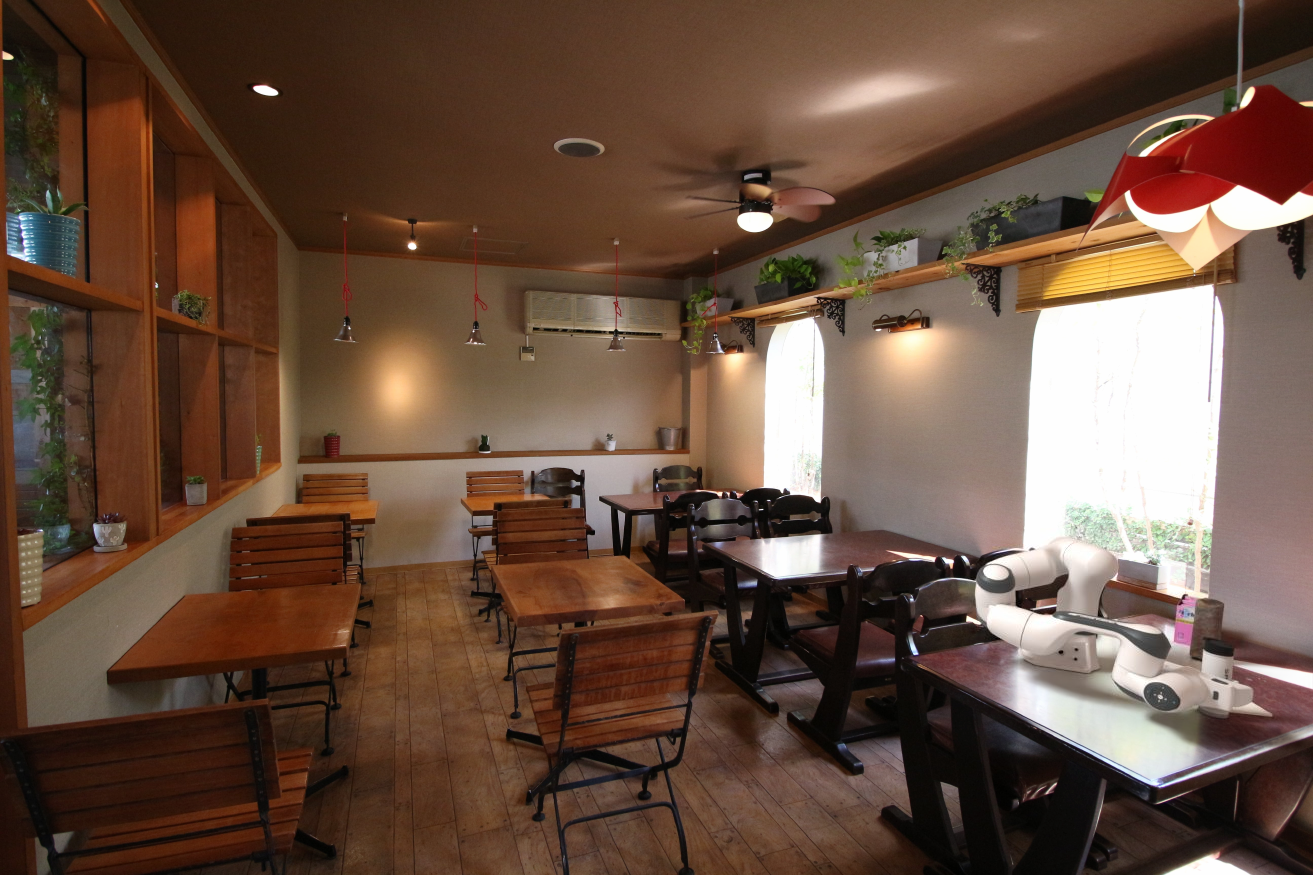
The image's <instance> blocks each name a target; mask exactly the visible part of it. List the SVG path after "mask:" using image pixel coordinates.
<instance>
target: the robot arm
mask: <svg viewBox="0 0 1313 875" xmlns="http://www.w3.org/2000/svg"><path fill="white" fill-rule="evenodd" d="M1118 571H1119V560H1118V559H1117V558H1116V556H1115V555H1114V554H1113V553H1111V551H1109V550H1107V549H1106V548H1104V547H1102V546H1100V545H1097V544H1093V543H1090V542H1087V541H1083V540H1080V539H1078V538H1076V537H1073V536H1072V537H1071V536H1058V537H1055V538H1053V539H1051V541H1049V543H1048V544H1046V545H1044V546H1041V547H1039V548H1036V549H1032V550H1026V551H1023V552H1018V553H1013V554H1009V555H1006V556H1002V557H999V558H996V559H994V560H992V561H989V562H987V563H986V564H985V565H983V566H982V567H980V568H979V570H978V571H977V573H976V578H975V580H976V583H975V588H974V589H975V590H974V598H975V605H976V606H975V614H976V618H977V620H978V621H979V623H980V624H981V625H982V626H983V627H985V628H987V629H988V630H989V632H990V633H991V634H992V635H995V636H996V637H997V638H1000V639H1001V640H1003V641H1004V642H1006V643H1009V644H1011V645H1013V646H1015V647H1017V648H1018V649H1017V653H1018V655H1019V656H1020V657H1021V658H1022V659H1023V660H1025V661H1026V662H1028V663H1030V664H1033V665H1035V666H1038V667H1039V666H1040V667H1045V668H1050V669H1051V668H1052V669H1058V670H1062V671H1064V670H1065V671H1071V672H1078V673H1084V674H1090V673H1091V672H1093V671H1097V670H1099V669H1100V663H1099V657H1098V651H1097V650H1098V649H1097V639H1098V636H1099V635H1100V636H1106V637H1110V638H1114V639H1117V640H1119V642H1120V644H1119V647H1118V651H1117V655H1116V658H1115V661H1114V664H1113V668H1112V671H1111V678H1112V681H1113V682H1114V684H1115V685H1116V687H1118V689H1119V690H1120V691H1121V692H1122V693H1123V694H1125V695H1126V696H1128V697H1130V698H1132V699H1134V700H1136V701H1140V702H1142V703H1145V704H1148V705H1149V706H1150V707H1151V708H1153V709H1154V710H1156V711H1159V712H1163V713H1179V712H1180V713H1181V712H1184V711H1186V710H1189V709H1191V708H1193V707H1195V706H1197V707H1198V706H1205V707H1211V708H1216V709H1220V710H1225V711H1231V710H1232V709H1233V707H1242V706H1245V705H1247V704H1249V703H1251V702H1253V698H1254V688H1252V687H1250V686H1249V685H1245V684H1241V683H1239V681H1238V680H1235V679H1233V678H1232V679H1231V680H1226V679H1223V678H1219V677H1216V676H1213V675H1210V674H1206V673H1203V672H1202V671H1201V670H1200V669H1199V668H1195V667H1192V666H1189V665H1186V666H1184V665H1180V664H1178V663H1173V662H1171V661H1168V660H1166V659H1167V657H1168V655H1169V653H1170V651H1171V648H1172V645H1171V642H1170V641H1169V638H1168V637H1167V636H1166V634H1165V632H1163V630H1161V629H1159V628H1157V627H1154V626H1152V625H1147V624H1141V623H1135V622H1128V621H1127V622H1126V621H1122V620H1116V619H1111V618H1106V617H1101V616H1098V613H1099V612H1098V611H1099V604H1100V598H1101V595H1102V592H1103V590H1104V588H1105V586H1106V584H1107V583H1109V581H1111V580H1113V579H1114V578H1115V577H1116V576H1117V575H1118ZM1063 575H1068V578H1067V580H1066V581H1065V582H1066V583H1065V584H1064V586H1062V587H1060V589H1059V590H1058V592H1057V599H1056V611H1055V612H1053V614H1049V613H1044V614H1040V613H1037V612H1034V611H1031V610H1028V609H1026V608H1020V607H1018V606H1017V605H1016V602H1017V601H1016V600H1017V598H1016V591H1021V590H1025V589H1031V588H1035V587H1040V586H1041V587H1042V586H1046V585H1051V584H1052V583H1054V582H1055V580H1056V578H1058V577H1061V576H1063Z"/></svg>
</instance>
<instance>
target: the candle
mask: <svg viewBox="0 0 1313 875" xmlns="http://www.w3.org/2000/svg"><path fill="white" fill-rule="evenodd" d="M1199 598H1200V599H1198V600H1196V606H1195V614H1194V622H1193V630H1192V638H1191V645H1190V646H1189V647H1190V648H1189V653H1188V654H1189V656H1190V657H1191V658H1194V659H1197V660H1199V661H1202V659H1203V652H1204V651H1203V649H1204V643H1205V640H1204V641H1203V637H1208V638H1214V639H1218V640H1222V639H1221V638H1222V637H1221V636H1222V629H1223V628H1222V627H1223V620H1224V611H1225V603H1224V602H1223V601H1221V600H1219V599H1214V598H1209V597H1203V598H1201V597H1199Z"/></svg>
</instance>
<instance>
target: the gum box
mask: <svg viewBox="0 0 1313 875" xmlns="http://www.w3.org/2000/svg"><path fill="white" fill-rule="evenodd" d="M1200 598H1201V597H1197V596H1196V597H1195V596H1192V595H1191V596H1190V595H1189V594H1188V593H1184V594H1182V595H1181V598H1180V601H1178V603H1177V605H1176V612H1175V613H1176V614H1175V622H1174V623H1175V624H1174V633H1173V643H1175V642H1176V643H1177V644H1181V645H1183V646H1184V645H1186V646H1189V647H1190V645H1191V638H1192V630H1193V622H1194V614H1195V606H1196V600H1198V599H1200ZM1176 643H1175V644H1176Z"/></svg>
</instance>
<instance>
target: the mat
mask: <svg viewBox="0 0 1313 875" xmlns="http://www.w3.org/2000/svg"><path fill="white" fill-rule="evenodd" d="M1229 713H1233V714H1242V715H1244V714H1245V715H1253V716H1262V717H1273V713H1271V712H1269V711H1267V710H1265V709H1264V708H1262V707H1260V706H1259V705H1257V704H1255V703H1254V702H1253V701H1252V702H1251V703H1249V704H1247V705H1245V706H1242V707H1233V709H1232V710H1231V711H1229Z"/></svg>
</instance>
